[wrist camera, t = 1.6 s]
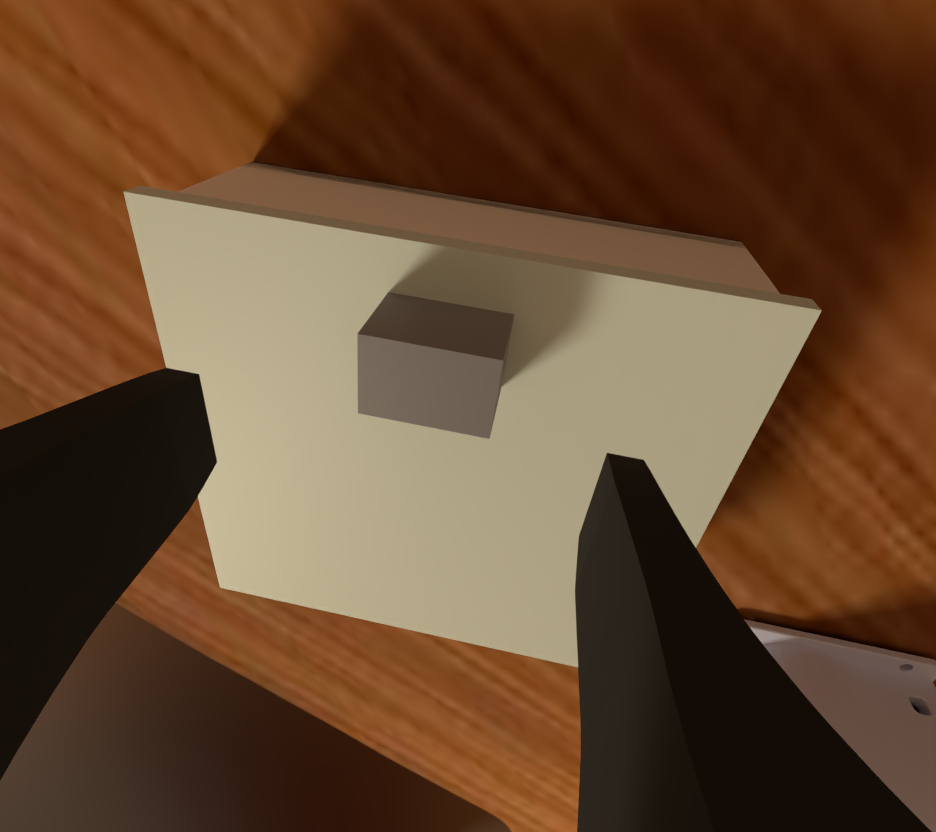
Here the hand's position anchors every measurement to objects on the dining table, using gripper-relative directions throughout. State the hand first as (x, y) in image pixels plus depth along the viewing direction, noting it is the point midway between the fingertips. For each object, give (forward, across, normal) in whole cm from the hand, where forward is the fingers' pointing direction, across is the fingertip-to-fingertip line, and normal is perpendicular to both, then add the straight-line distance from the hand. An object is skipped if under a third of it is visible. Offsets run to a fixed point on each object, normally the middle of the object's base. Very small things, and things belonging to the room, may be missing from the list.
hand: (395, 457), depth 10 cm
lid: (+5, 0, +5) cm, 7 cm away
